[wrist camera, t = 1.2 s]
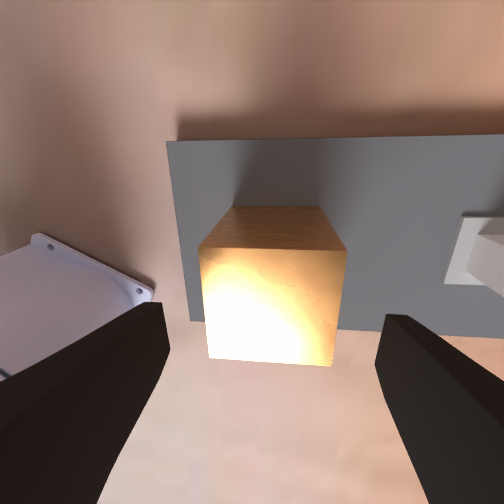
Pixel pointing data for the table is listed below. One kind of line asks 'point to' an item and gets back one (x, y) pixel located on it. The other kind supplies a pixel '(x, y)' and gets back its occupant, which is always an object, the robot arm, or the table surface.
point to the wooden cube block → (272, 285)
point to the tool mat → (368, 218)
